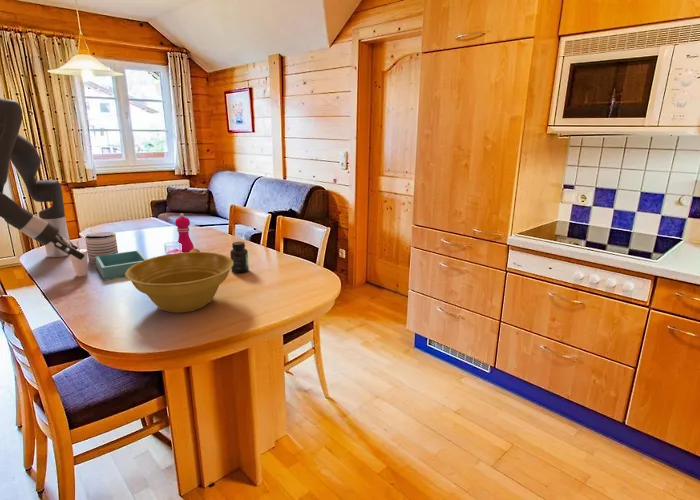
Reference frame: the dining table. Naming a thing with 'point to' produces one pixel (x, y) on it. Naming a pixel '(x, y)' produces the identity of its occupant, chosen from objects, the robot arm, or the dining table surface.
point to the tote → (117, 263)
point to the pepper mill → (184, 233)
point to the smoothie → (80, 262)
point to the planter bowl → (180, 279)
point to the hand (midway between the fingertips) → (81, 254)
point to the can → (100, 244)
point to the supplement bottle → (239, 258)
